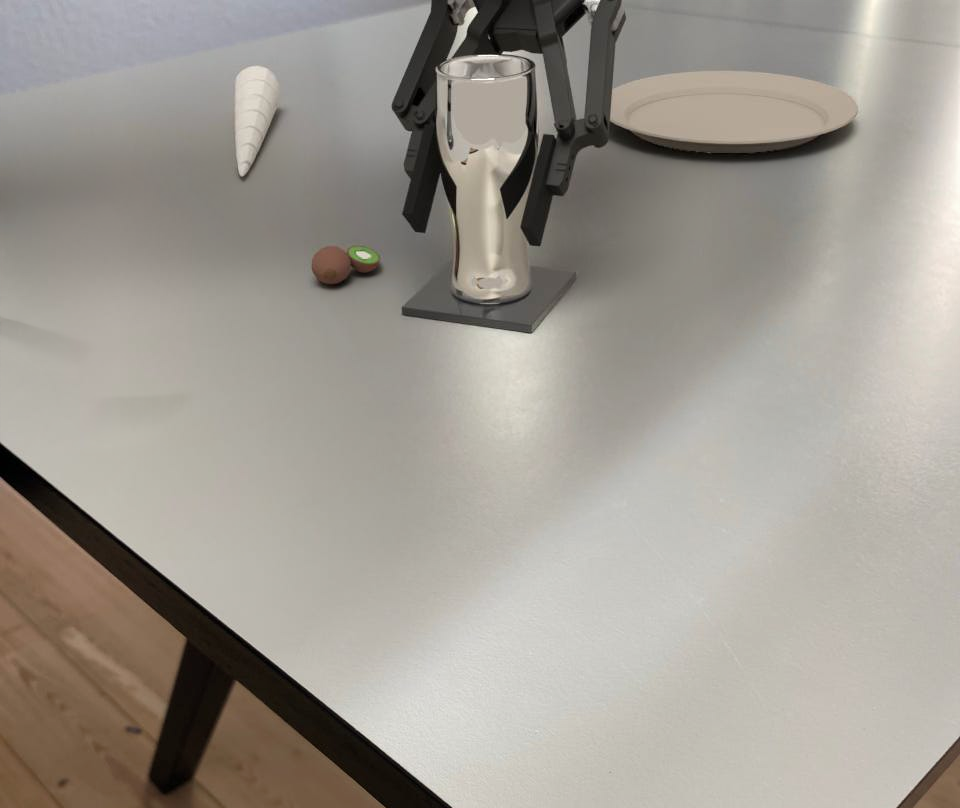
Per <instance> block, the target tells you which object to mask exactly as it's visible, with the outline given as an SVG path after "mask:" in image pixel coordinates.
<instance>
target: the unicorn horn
mask: <svg viewBox="0 0 960 808" xmlns="http://www.w3.org/2000/svg"><path fill="white" fill-rule="evenodd" d="M280 99H281V89H280V83H279V81H278V79H277V77H276V75H275V74H274V73H273V72H272V71H271V70H270V69H269V68H267V67H264V66H262V65H251V66H248V67H246V68H244V69H242V70H241V71H240V72H239V73H238V74H237V76H236V78H235V81H234V145H235V147H234V148H235V156H236V164H237V170H238V174H239V176H240V177H245V176H246V174H247V173H248V172H249V170H250V169H251V167H252V165H253V163H254V161H255V160H256V157H257V154H258V153H259V151H260V149H261V146H262V145H263V144H262V143H263V142H264V139H265V138H266V135H267V133H268V130H269V128H270V126H271V123H272V120H273V119H274V115H275V114H276V111H277V109H278V106H279V104H280Z"/></svg>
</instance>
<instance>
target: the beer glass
mask: <svg viewBox="0 0 960 808" xmlns="http://www.w3.org/2000/svg"><path fill="white" fill-rule="evenodd" d="M451 58H452V57H451ZM451 58H447V60H445V61H443V62H441V63H440V64H438V65H437V66H436V69H435V70H436V97H435V126H436V144H437V156H438V162H439V168H440V179H441V183H442V188H443V193H444V198H445V202H446V205H447V206H446V207H447V211H448V214H449V220H450V225H451V230H452V239H453V258H454V261H453V269H452V275H451V282H450V290H451V292H452V294H453V295H454V296H455V297H457V298H458V299H460V300H463V301H466V302H470V303H475V304H486V305H491V304H503V303H508V302H512V301H515V300H518V299H521V298H523V297H524V296H526V295H527V294H528V293H529V292H530V291H531V289H532V276H531V271H530V266H531V265H530V260H529V255H528V241H527V239H526V237H525V235H524V233H523V232H522V230H521V228H520V226H521V222H522V218H523V214H524V210H525V206H526V202H527V198H528V193H529V189H530V185H531V181H532V177H533V173H534V169H535V165H536V161H537V157H538V153H539V137H540V135H539V133H540V131H539V130H540V128H539V127H540V126H539V101H538V89H537V88H538V87H537V77H536V63H535V62H534V61H533V60H532V59H529V58H527V57H524V56H520V55H514V54H507V53H502V54H476V55H467V56H461V57H456V58H452V59H451Z"/></svg>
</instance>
